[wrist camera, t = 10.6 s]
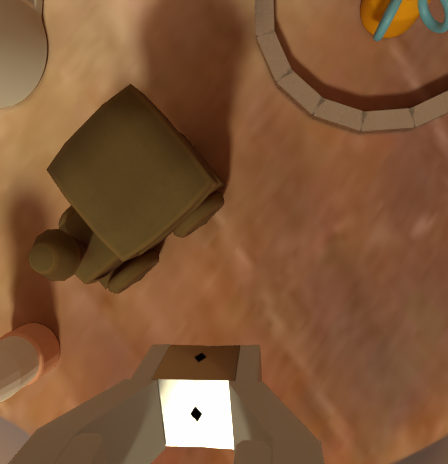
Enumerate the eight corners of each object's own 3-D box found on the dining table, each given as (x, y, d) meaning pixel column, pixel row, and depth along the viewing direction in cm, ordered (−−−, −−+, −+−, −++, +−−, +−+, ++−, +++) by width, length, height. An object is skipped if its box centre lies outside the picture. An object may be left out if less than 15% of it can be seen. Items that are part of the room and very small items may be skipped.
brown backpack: (184, 120, 41) (122, 70, 25) (245, 192, 41) (222, 190, 25) (73, 226, 45) (-44, 243, 29) (128, 293, 45) (41, 348, 28)
